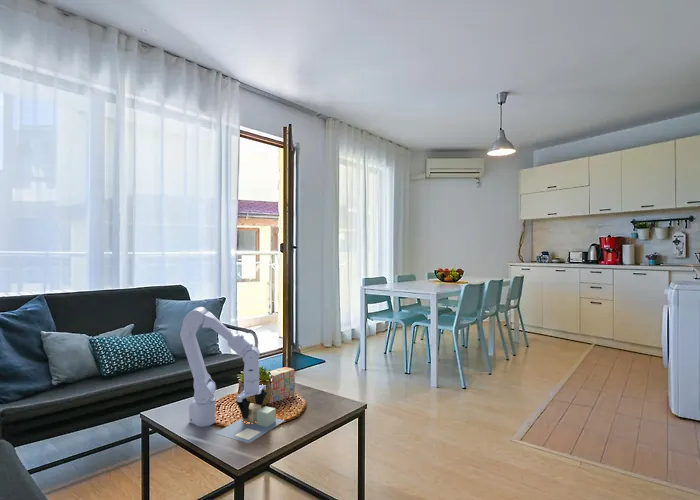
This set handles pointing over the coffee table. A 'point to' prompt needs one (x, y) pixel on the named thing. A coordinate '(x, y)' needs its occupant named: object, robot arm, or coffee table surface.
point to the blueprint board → (246, 430)
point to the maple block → (252, 413)
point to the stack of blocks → (282, 383)
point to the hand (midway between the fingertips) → (252, 414)
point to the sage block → (266, 416)
